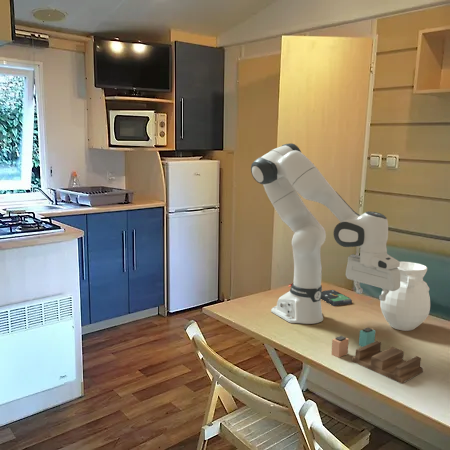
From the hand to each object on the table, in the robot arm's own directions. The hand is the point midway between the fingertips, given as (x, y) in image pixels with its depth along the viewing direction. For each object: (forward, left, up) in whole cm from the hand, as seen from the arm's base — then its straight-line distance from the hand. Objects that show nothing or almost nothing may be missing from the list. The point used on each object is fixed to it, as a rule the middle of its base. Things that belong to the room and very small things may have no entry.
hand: (370, 296), depth 165 cm
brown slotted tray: (+14, -9, -18) cm, 25 cm away
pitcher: (-2, +27, -18) cm, 33 cm away
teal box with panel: (0, 0, -18) cm, 18 cm away
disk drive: (-39, +30, -19) cm, 53 cm away
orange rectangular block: (-1, -14, -18) cm, 23 cm away
